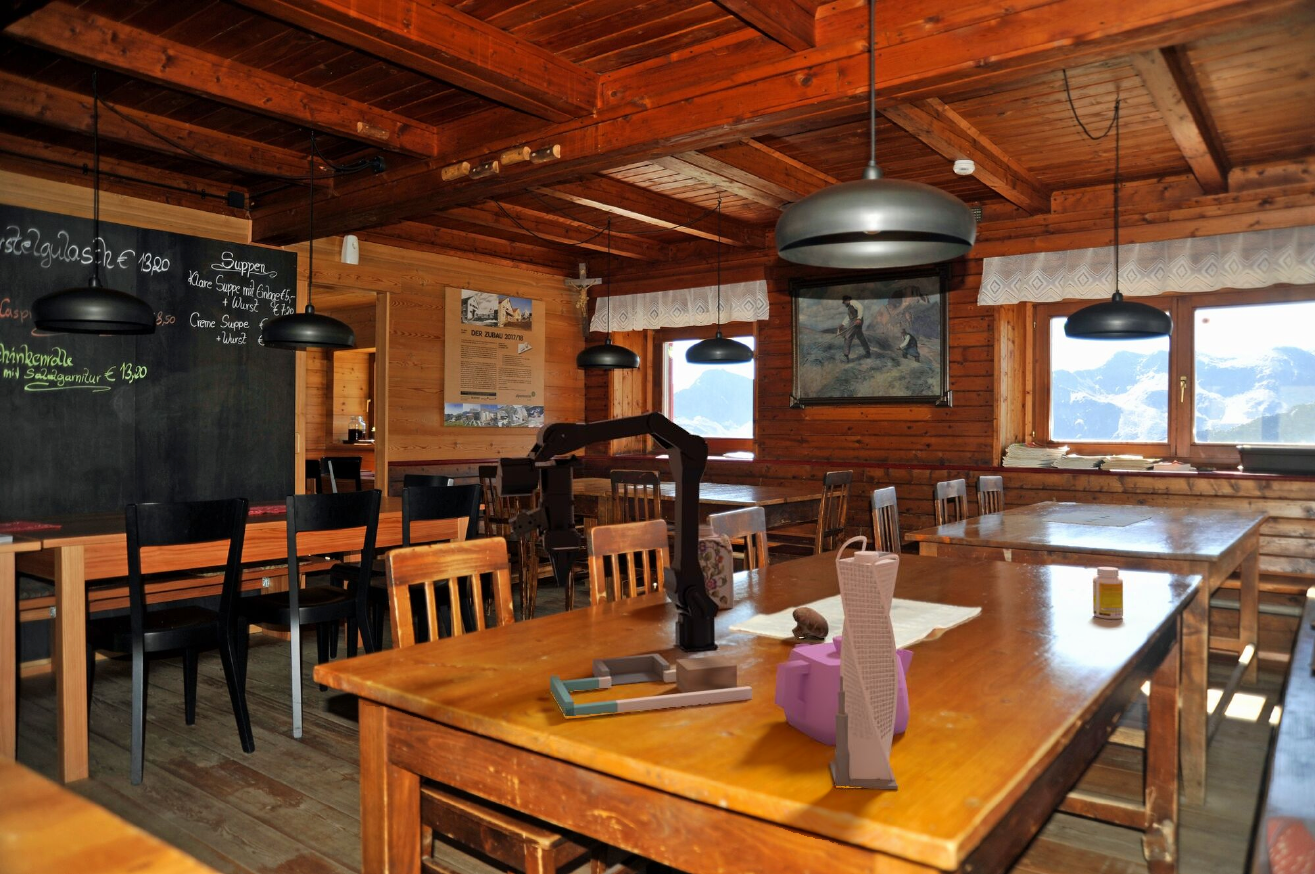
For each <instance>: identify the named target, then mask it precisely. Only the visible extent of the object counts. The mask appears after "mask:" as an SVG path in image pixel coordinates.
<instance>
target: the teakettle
mask: <svg viewBox="0 0 1315 874" xmlns="http://www.w3.org/2000/svg"><path fill="white" fill-rule="evenodd" d="M831 639H832V641H831V642H825V643H817V644H810V643H800V644H795V645H794V648H792V649H791V650H790V653H789V657H788V661H787V662H781V663H777V666H776V668H777V669H776V671H777V672H776V679H775V680H776V682H775V683H776V684H775V692H774V694H775V695H774V704H775V705H777V706H779V707H780V708H782V709H783V713H784V717H785V719H786V722H787V723H788V725H790V727H791V726H792V727H793V728H795V729H796V730H798V731H799V732H801V733H803V734H804V735H806V736H808V737H809V738H811V739H813V740H815V741H817V742H818V743H819V742H820V743H821V744H823V745H826V746H829V747H830V746H833V747H836V718H835V712H838V711H839V706H838V691H839V690H840V655H841V640H842V635H837V636H834V637H832V638H831ZM896 653H897V667H898V691H897V706H896V716H895V724H894V732H893V736H896V735H900V734H902V733H905V732H906V730H907V726H908V723H909V720H910V719H909V718H910V703H909V695H908V693H909V692H908V689H907V688H908V687H907V681H906V676H907V674H908V670H909V668H910V665H911V661H912V659H913V656H914V652H913V651H911V650H908V649H903V648H902V649H900V648H899V649H898V648H896Z"/></svg>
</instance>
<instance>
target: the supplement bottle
mask: <svg viewBox="0 0 1315 874" xmlns="http://www.w3.org/2000/svg"><path fill="white" fill-rule="evenodd" d="M1092 595H1093V596H1092V606H1093V607H1092V609H1093V610H1092V612H1093V615H1094V616H1095V617H1097V618H1100V619H1104V620H1119V619H1123V616H1124V581H1123V579H1122V578H1121V577H1120V576H1119V568H1117V567H1113V566H1099V567H1097V570H1096V575H1095V576H1093V579H1092Z"/></svg>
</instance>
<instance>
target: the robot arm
mask: <svg viewBox="0 0 1315 874" xmlns="http://www.w3.org/2000/svg"><path fill="white" fill-rule="evenodd" d="M643 435H649V436H650V437H651V438H652V439H653V440H654V441H655V442H656V443H657V445H659V446H660V447H662V448H663V449H664V450H665V451H666V452H667V456H668V462H669V463H668V464H669V469H670V471H671V474H672V477H673V480H674V547H673V550H674V551H673V552H674V553H673V555H674V556H673V560H672V561H671V564H670V566H663V569H662V571H663V572H662V573H663V584H662V586H661V587H662V589H664V590H665V595H666V597H667V598H668V599H669V600H670V601H671V602H672V603H674V606H675V609H676V611H679V612H677V620H676V621H675V623H674V625H675V632H674V634H675V641H674V642H675V644H676V645H677V646H678V647H679V648H680V649H681V650H683V651H684V652H692V651H695V652H696V651H706V650H714V649H715V650H717V649H719V645H718V644H717V643H716V639H715V638H716V636H715V635H716V634H715V633H716V632H715V629H716V628H715V627H716V626H715V625H716V623H715V621H716V620H715V618H716V617H717V615H718V611H719V605H718V604H717V603H715V602H714V601H713V600H712V599H711V598H710V597H709V596H708V595H707V591H706V584H705V577H704V574H703V571H702V568H701V565H700V562H699V526H700V493H701V491H700V490H701V487H700V485H701V481H702V479H703V476H704V473H705V471H706V469H707V464H708V458H709V453H710V448H709V443H708V441H706V440H705V438H703V436H700V435H699V434H691V432H689V431H688V430H686V429H685V428H683V427H681V425H679V424H677V423H675V422H674V421H672V420H670V419H669V418H668V417H667V416H665V415H664V414H663V413H662V412H660V411H647V412H645V413H642V414H637V415H636V414H635V415H631V416H630V415H629V416H624V417H618V418H611V419H605V420H600V421H599V420H598V421H593V422H587V423H586V422H585V423H584V422H548V423H545V424H543V425H542V426H541V427H539V429H538V430H537V433H536V442H535V443H534V444H533V446H532V447H531V449H530V450H529V452H528V453H527V455H526V456H524V457H509V456H508V457H506V456H500V457H498V462H497V463H498V464H497V467H496V468H497V469H496V470H497V471H496V474H495V483H496V484H495V485H496V492H497V496H498V497H500V498H501V497H502V498H503V497H515V496H516V497H517V496H518V497H519V496H531V495H532V494H533V493H534V491H537V489H538V488H539V487H540V488H539V489H540V490H539V491H540V492H539V493H540V498H539V500H538V501H537V503H538V504H537V505H538V507H536V508H533V509H531V510H528V511H525V510H523V511H522V512H520V513H516V515H515V516H514V517H511V518H509V519H508V524H509V526H510V528H511V530H512V533H513V535H514V538H515V539H519V538H522V537H524V536H525V534H529V533H531V532H533V531H536V535H537V537H538V540H539V542H540V543H541V544H542V546H543V550H544V552H545V553H546V554H548V556H549V561H550V564H551V570H552V573H553V574H552V575H553V577H554V578H556V580H557V585H558V587H559V588H560V587H561V588H562V587H565V586H566V585H567V583H568V579H569V576H570V574H571V571H572V568H573V566H574V564H575V561H576V559H577V557H578V553H579V552H580V549H581V547H582V535H581V533H579V531H577V530H576V522H575V520H574V519H575V516H574V515H575V514H574V506H575V505H576V501H575V499H574V480H573V478H574V477H573V468H583V467H584V466H585V463H584V462H582V460H580V459H579V458H578V456H577V455H576V453H572V452H575V451H578V450H580V449H583V448H585V447H587V446H590V445H593V444H598V443H602V442H607V441H615V440H619V439H626V438H630V437H631V438H632V437H636V436H637V437H638V436H643ZM567 454H569V455H568V456H567V457H563V458H562V457H561V458H560V457H559V458H554V457H555V456H564V455H567ZM548 461H550V462H549V464H536V463H546V462H548Z"/></svg>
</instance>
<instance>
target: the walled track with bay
mask: <svg viewBox="0 0 1315 874" xmlns="http://www.w3.org/2000/svg"><path fill="white" fill-rule="evenodd" d="M593 674H594V675H593ZM592 675H593V676H594V677H587V678H578V679H577V678H576V679H564V680H561V679H560V677H559V675H550V676H549V691H551V692H552V694H553V695H554V697H555V699H556V701H557V702H558V704H559V706H560V707H561V709H562V711H563V713H564V714H565V716H576V715H590V714H601V713H615V712H624V711H638V710H648V709H658V710H661V709H660V708H667V707H676V708H682V707H681V706H685V707H688V706H687V705H693V706H699V705H698V704H701V705H709V704H708V703H711V704H719V703H727V702H735V701H736V702H738V701H745V700H753V687H751V686H746V685H745V686H739V687H738V686H737V688H727V689H718V690H709V691H699V692H690V693H682V692H681V693H674V694H664V695H663V694H662V695H655V696H645V697H643V696H642V697H636V698H625V699H617V700H616V699H615V700H608V701H607V700H606V701H598V702H588V703H581V704H580V703H579V704H575V701H574V700H573V698H572V696H571V694H570V692H569V693H568V691H574V690H589V689H596V688H608V689H612V686H611V685H613V686H617V685H616V684H623V685H629V684H631V683H632V684H639V683H638V682H642V683H650V682H658V681H659V682H661V680H662V681H663V680H664V682H665V683H666V684H667V683H676V669H671V664H670V663H669V662H668V660H666V659H665V658H664V657H663V656H661V655H660V654H659V653H650V654H649V653H648V654H647V653H646V654H637V655H628V656H626V655H625V656H617V657H606V658H605V657H604V658H595V659H592ZM589 691H590V690H589ZM552 694H551V695H552ZM556 701H555V702H556ZM701 705H700V706H701ZM667 709H668V708H667Z"/></svg>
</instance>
